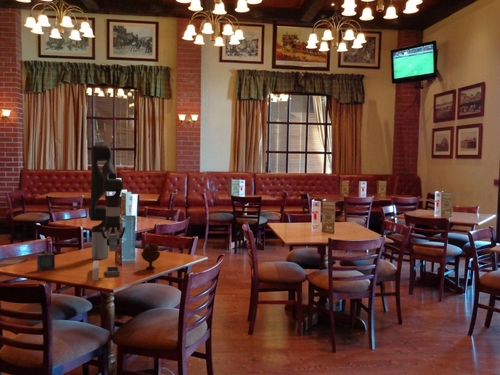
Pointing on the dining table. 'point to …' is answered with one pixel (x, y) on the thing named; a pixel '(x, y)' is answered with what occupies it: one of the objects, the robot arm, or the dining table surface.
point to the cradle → (112, 271)
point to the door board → (95, 270)
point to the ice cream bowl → (150, 255)
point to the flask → (46, 261)
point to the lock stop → (112, 242)
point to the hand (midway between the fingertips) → (112, 245)
